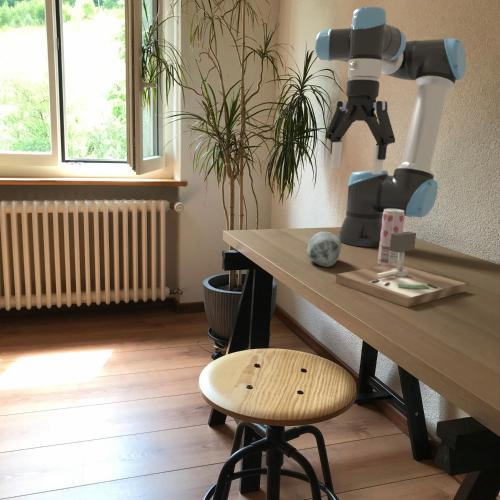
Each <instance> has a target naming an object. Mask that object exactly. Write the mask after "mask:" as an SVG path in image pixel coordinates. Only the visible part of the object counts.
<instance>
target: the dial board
mask: <svg viewBox="0 0 500 500" xmlns="http://www.w3.org/2000/svg"><path fill="white" fill-rule="evenodd" d="M393 268H397V264H396V263H393V264H388V265H383V266H382V265H379V266H373V267H368V268H363V269H357V270H352V271H346V272H342V273H341V272H339V273H337V274H336V276H335V283H336V284H339V285H342V286H345V287H347V288H351V289H354V290H356V291H359V292H363V293H366V294H368V295H370V296H373V297H377V298H379V299H381V300H385V301H388V302H390V303H394V304H395V305H400V306H401V307H404V308H409V307H414V306H417V305H421V304H425V303H429V302H432V301H435V300H439V299H442V298H446V297H450V296H453V295H458V294H460V293H464V292H466V287H467V286H466V285H467V283H466V282H463V281H459V280H456V279H453V278H448V277H445V276H442V275H438V274H435V273H431V272H427V271H423V270H421V269H416V268H413V267H410V266H406V265H403V269H405V270H407V271H408V276H407V277H397V276H393V275H387V276H382V277H377V276H376V274H377V273H382V272H387V271H391V269H393Z"/></svg>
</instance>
